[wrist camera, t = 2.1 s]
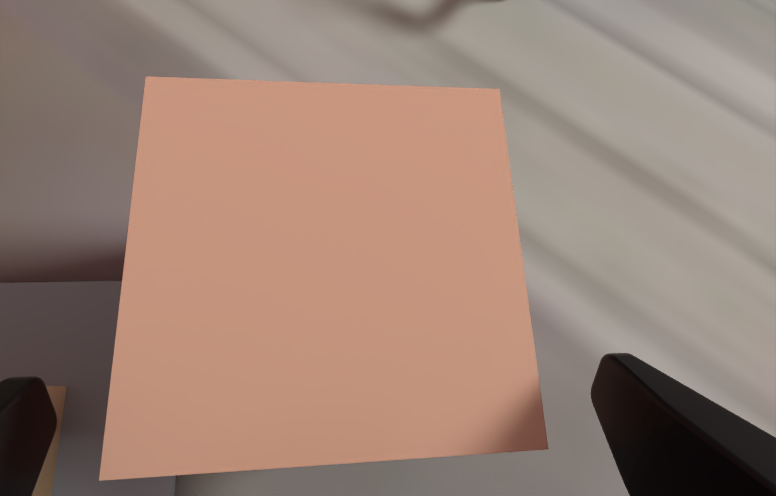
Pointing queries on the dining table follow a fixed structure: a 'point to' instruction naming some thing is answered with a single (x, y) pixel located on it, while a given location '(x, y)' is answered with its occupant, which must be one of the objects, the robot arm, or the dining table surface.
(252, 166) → the salmon pink box
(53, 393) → the block
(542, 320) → the dining table surface
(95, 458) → the mat
